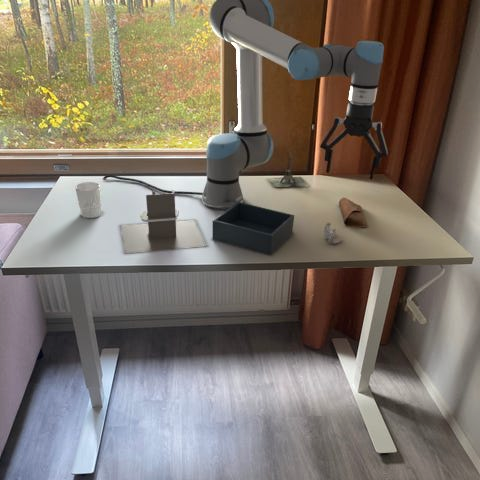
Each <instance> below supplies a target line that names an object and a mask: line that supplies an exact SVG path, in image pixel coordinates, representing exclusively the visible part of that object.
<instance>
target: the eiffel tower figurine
mask: <svg viewBox="0 0 480 480" xmlns="http://www.w3.org/2000/svg"><path fill="white" fill-rule="evenodd" d="M288 155H289V156H288V163H287V167H286V170H285V173H284V175H283V176H281V177H270V178H266V180H267V181H268V183H269V184H270V185H271V186H272V187H274V188H288V187H289V188H292V187H304V188H305V187H307V188H309V187H310V186H309V185H308V184H307V182H306V181H305V180H304V179H303V178H302V176H294V175H293V173H292V169H291V167H292V166H291V163H292V162H291V159H292V158H291V157H292V153H291V150H290V151H289V154H288Z"/></svg>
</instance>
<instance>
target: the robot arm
mask: <svg viewBox="0 0 480 480" xmlns="http://www.w3.org/2000/svg"><path fill="white" fill-rule="evenodd" d="M208 18H209V24H210V27H211V29H212V31H213V32H214V34H215V35H216V36H217V37H219V38H221V40H223V41H225V42H228V43H231V44H232V45H233V46H234V48H235V49H236V70H237V71H236V75H237V104H238V105H237V108H238V124H237V126H236V127H235V128H234V133H231V132H226V133H218V134H215V135H213V136H211V137H209V139H208V140H207V142H206V152H205V153H206V182H205V186H204V188H203V192H198V191H181V190H180V191H177V190H176V191H175V190H173V191H174V193H175V195H194V196H195V195H196V196H201V202H202V204H203V205H204V206H205V207H207V208H211V209H215V210H228V209H229V208H231V207H232V206H233V205H235V204H236V203H237V202H241V203H244V195H243V192H242V188H241V184H240V171H244V170H246V169H251V168H255V167H259V166H261V165H263V164H265V163H268V161H269V160H270V159H271V157H272V156H273V152H274V141H273V138H272V136H271V134H270V133H269V132H268V128H267V127H266V125H264V123H263V117H264V115H263V112H264V111H263V109H264V108H263V57H264V58H266V59H268V60H270V61H271V62H274V63H276V64H278V65H279V66H281V67H283V68H285V69H287V70H288V73H289V74H290V76H291V78H293V79H294V80H296V81H310V80H314V79H320V78H326V77H327V78H328V77H333V76H341V77H347V78H351V80H350V87H349V88H350V89H349V94H348V100H349V102H348V103H347V107H346V114H345V118H341V117H340V116H336V117H335V119H334V122H333V124H332V127H331V128H330V130H329V131H328V133H327V135H326V136H325V137H324V139H323V141H322V142H321V144H320V145H319V147H320V149H323V150H324V151H325V152H324V162H327V163H326V171H325V173H326V174H329V173H330V172H331V168H332V167H331V166H332V160H333V152H334V149H333V148H334V147H335V146H336V145H337V144H339V142H340V141H341V140H342V139H343V138H345V137H346V136H347V135H348V136H350V137H358V138H361V137H364V139H365V141H366V142H367V143H368V146H369V147H370V148H371V150H372V152H373V154H374V156H373V159H372V163H371V169H370V174H369V175H370V176H369V180H373V178H374V174H375V171H376V170H375V169H379V167H380V163H381V159H382V158H384V157H385V158H386V157H387V156H388V154H389V151H388V147H387V144H386V140H385V136H384V132H383V130H382V128H383V122H382V121H378V122H374V121H373V116H374V115H373V114H374V109H375V105H374V103H375V102H376V99H377V98H376V97H377V94H378V93H377V92H378V85H379V81H380V80H379V79H380V75H381V69H382V65H383V62H384V50H385V45H384V43H382V42H381V41H380V42H379V41H373V40H360V41H358V42H357V43H356V47H352V46H346V45H340V44H337V43H325V44H323V45H322V47H321V46H320V47H312V46H311V45H308V44H306V43H303V42H302V41H300V40H298V39H295V38H294V37H291V36H289V35H288V34H285V33H283V32H281V31H279V30H277V29H276V28H273V27H274V23H275V13H274V9H273V6H272V4H271V2H269V0H215V1H214V2H213V4H212V5H211V8H210V10H209V17H208ZM341 124H343V126H344V128H345V129H343V131H342V132H341V133H339V135H337V136H336V137H335V138H334V139H333V140H332V141H331V142H330V143H329V144H328V142H329V141H330V139H331V138H332V136H333V134H334V133H335V131H336V130H337V128H338V127H340V126H341ZM372 128H373V129H374V131H376V136H377V139H378V142H379V146H380V148H379V146H378V145H377V143H376V141H375V140H374V138H373V136H372V134H371V132H370V130H371V129H372ZM107 178H113V179H116V180H121V181H128V182H129V181H130V182H134V183H139V184H142V185H144V186H147V187H149V188H151V189H154V190H155V191H158V192H161V193H164V194H169V193H172V190H167V189H162V188H159V187H157V186H155V185H154V184H150V183H148V182H146V181H143V180H140V179H136V178H130V177H121V176H117V175H114V174H107V175H104V176H103V178H102V179H103V180H106V179H107Z"/></svg>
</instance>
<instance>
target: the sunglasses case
mask: <svg viewBox="0 0 480 480" xmlns="http://www.w3.org/2000/svg"><path fill="white" fill-rule="evenodd" d="M338 206H339V209H340V213H341V217H342V221H343V223H344V225H345V227H347V228H348V227H349V228H367V227H368V224H367V221H366V218H365V216H364V212H363V209H362V206H361V205H360V204H357V203H355V202H354V201H352V200H350V199H348V198H347V197H341V198H340V199H339V201H338Z"/></svg>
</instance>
